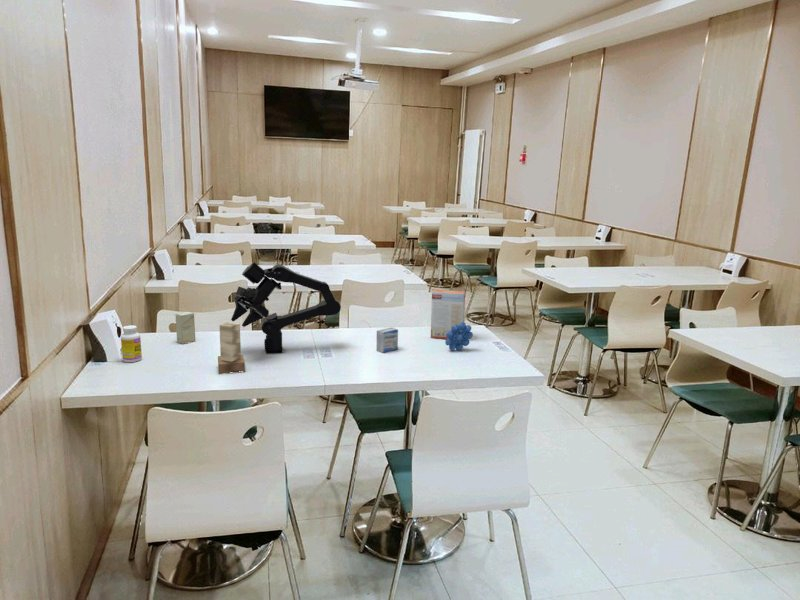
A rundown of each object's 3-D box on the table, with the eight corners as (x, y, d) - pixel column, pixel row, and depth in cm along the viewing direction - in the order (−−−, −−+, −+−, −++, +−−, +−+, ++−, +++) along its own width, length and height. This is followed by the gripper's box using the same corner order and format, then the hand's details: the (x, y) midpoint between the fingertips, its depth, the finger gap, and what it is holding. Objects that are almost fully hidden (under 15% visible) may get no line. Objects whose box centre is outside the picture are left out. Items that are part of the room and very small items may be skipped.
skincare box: (182, 344, 240) (180, 315, 237) (176, 342, 242) (174, 313, 239) (196, 341, 244) (194, 312, 242) (190, 339, 247) (188, 311, 244)
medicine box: (383, 353, 235) (383, 332, 233) (376, 350, 238) (376, 330, 236) (397, 349, 240) (398, 329, 238) (390, 346, 243) (391, 326, 241)
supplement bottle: (136, 363, 217) (133, 329, 214) (119, 362, 217) (116, 329, 214) (145, 357, 223) (142, 324, 220) (128, 356, 224) (125, 324, 221)
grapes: (468, 346, 246) (469, 319, 243) (473, 351, 240) (475, 323, 237) (441, 347, 243) (443, 320, 241) (446, 353, 237) (448, 324, 234)
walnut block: (243, 364, 220) (243, 354, 219) (245, 372, 211) (244, 362, 210) (218, 366, 217) (217, 356, 216) (218, 375, 208) (218, 364, 208)
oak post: (229, 356, 216) (228, 322, 213) (240, 358, 214) (239, 323, 212) (220, 360, 211) (219, 324, 209) (231, 361, 209) (230, 326, 207)
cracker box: (463, 337, 259) (466, 290, 254) (462, 341, 253) (464, 293, 249) (432, 334, 262) (434, 288, 257) (430, 338, 256) (431, 291, 252)
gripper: (237, 274, 229) (211, 306, 225) (260, 282, 215) (233, 316, 211) (256, 291, 236) (232, 322, 231) (280, 300, 222) (254, 333, 218)
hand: (237, 323), depth 223 cm, fingers open, 9 cm apart
